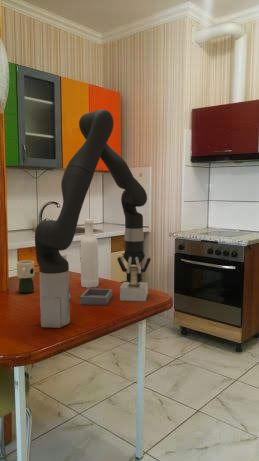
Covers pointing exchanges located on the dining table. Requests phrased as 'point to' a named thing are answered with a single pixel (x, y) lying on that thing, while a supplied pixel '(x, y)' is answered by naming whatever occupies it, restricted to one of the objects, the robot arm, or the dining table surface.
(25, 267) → the character mug
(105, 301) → the tray
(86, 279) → the bottle
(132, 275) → the pin
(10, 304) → the dining table surface
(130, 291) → the hitch block
